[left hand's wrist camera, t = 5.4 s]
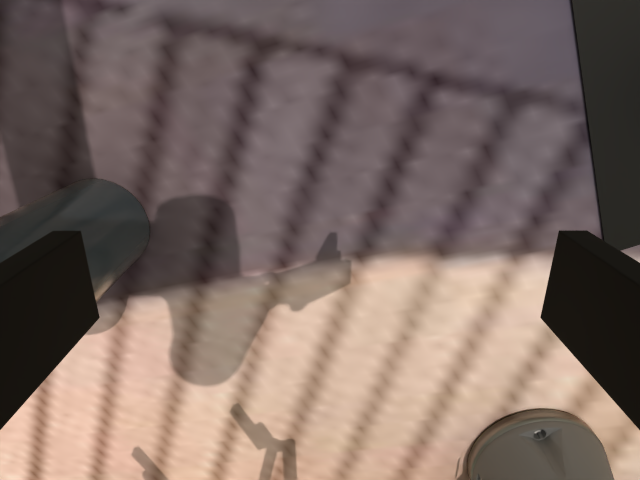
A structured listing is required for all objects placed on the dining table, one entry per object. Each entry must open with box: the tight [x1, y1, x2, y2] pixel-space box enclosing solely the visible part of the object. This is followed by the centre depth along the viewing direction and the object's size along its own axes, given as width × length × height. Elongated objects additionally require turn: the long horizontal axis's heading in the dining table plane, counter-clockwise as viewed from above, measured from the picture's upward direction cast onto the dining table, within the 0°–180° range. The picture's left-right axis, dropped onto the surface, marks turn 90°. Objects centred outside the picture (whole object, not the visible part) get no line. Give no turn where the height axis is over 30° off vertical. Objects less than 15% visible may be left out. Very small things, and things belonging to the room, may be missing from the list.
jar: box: [0, 179, 150, 302], centre depth 32 cm, size 9×9×19 cm
